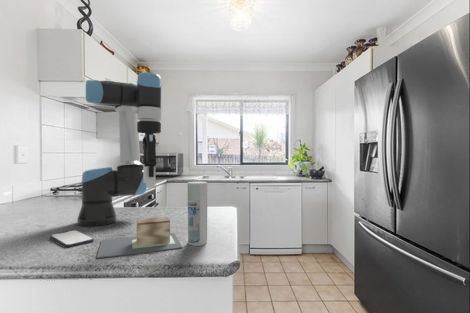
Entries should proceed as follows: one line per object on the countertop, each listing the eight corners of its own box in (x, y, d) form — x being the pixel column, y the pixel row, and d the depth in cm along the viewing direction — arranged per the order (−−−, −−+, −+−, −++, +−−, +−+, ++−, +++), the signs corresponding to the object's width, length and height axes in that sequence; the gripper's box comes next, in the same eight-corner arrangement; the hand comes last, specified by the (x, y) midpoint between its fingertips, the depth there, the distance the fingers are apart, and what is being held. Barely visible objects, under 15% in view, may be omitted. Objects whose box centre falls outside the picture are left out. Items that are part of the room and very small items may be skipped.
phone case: (95, 243, 92) (76, 233, 102) (95, 238, 92) (76, 229, 102) (66, 250, 85) (48, 239, 95) (66, 245, 85) (48, 235, 95)
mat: (101, 241, 92) (101, 239, 92) (173, 233, 101) (173, 232, 101) (96, 258, 76) (96, 257, 76) (182, 248, 85) (182, 246, 85)
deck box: (167, 237, 95) (167, 216, 95) (169, 242, 89) (169, 220, 89) (136, 240, 91) (136, 219, 91) (137, 246, 86) (137, 223, 86)
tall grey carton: (183, 242, 91) (183, 182, 90) (198, 238, 95) (198, 181, 95) (196, 247, 86) (196, 183, 86) (211, 242, 91) (211, 182, 91)
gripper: (135, 123, 101) (135, 181, 102) (139, 116, 78) (139, 190, 78) (156, 124, 104) (156, 180, 104) (166, 117, 81) (165, 189, 81)
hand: (148, 185), depth 91 cm, fingers open, 13 cm apart
